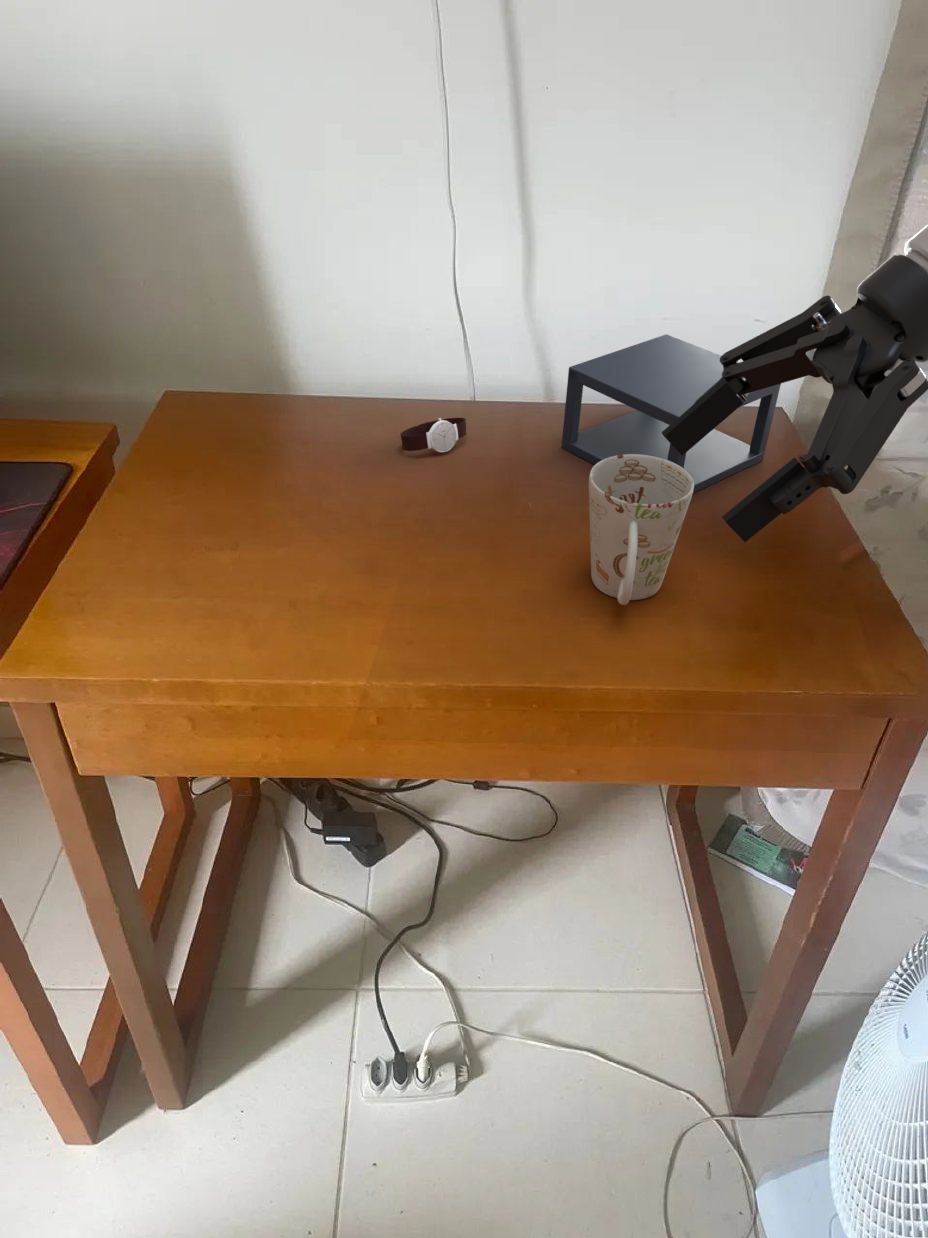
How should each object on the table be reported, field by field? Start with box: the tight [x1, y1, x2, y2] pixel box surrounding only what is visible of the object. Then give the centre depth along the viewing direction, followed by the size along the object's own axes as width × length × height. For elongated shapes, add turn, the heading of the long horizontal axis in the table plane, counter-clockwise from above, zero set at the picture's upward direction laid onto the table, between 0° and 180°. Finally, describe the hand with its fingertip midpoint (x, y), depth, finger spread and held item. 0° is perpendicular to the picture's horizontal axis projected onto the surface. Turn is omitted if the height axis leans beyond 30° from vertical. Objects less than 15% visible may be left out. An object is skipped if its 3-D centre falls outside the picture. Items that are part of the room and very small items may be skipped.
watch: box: [400, 417, 467, 453], centre depth 103 cm, size 8×5×4 cm, turn 126°
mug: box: [588, 454, 694, 606], centre depth 80 cm, size 8×13×10 cm, turn 172°
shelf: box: [561, 333, 782, 494], centre depth 101 cm, size 15×15×9 cm
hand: (700, 484), depth 78 cm, fingers open, 13 cm apart
